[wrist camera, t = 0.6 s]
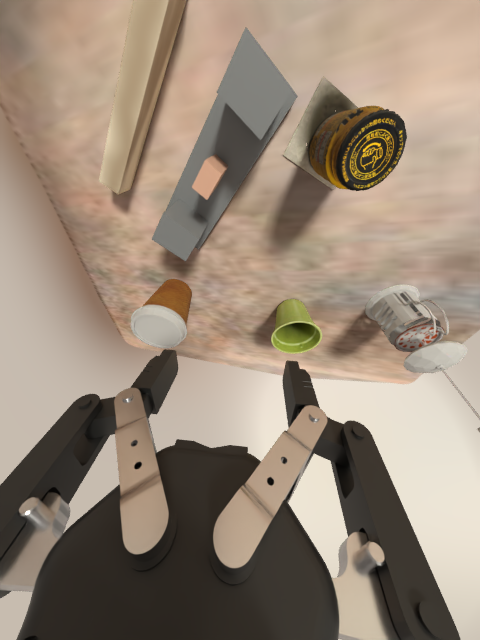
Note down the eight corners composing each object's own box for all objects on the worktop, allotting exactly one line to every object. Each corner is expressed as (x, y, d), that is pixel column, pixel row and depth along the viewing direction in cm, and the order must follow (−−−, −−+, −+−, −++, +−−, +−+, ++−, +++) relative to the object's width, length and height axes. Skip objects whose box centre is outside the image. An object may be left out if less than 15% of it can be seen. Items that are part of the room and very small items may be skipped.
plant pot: (311, 322, 46) (320, 352, 40) (271, 326, 48) (273, 355, 42) (313, 289, 40) (324, 319, 34) (267, 295, 42) (269, 324, 35)
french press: (360, 323, 45) (429, 449, 27) (373, 280, 38) (481, 416, 20) (408, 318, 44) (516, 450, 26) (433, 272, 36) (610, 415, 18)
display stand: (163, 219, 32) (141, 240, 26) (247, 34, 20) (243, -9, 14) (200, 246, 35) (188, 270, 29) (295, 98, 22) (310, 85, 16)
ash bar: (114, 176, 29) (98, 181, 26) (166, -46, 17) (148, -81, 15) (131, 188, 30) (118, 194, 27) (191, -14, 18) (179, -42, 15)
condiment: (332, 189, 28) (365, 215, 20) (283, 155, 26) (296, 166, 17) (377, 125, 24) (448, 122, 15) (322, 76, 21) (367, 39, 13)
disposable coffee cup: (175, 263, 38) (151, 302, 29) (208, 297, 43) (196, 339, 34) (145, 285, 42) (116, 326, 33) (178, 314, 47) (160, 355, 38)
